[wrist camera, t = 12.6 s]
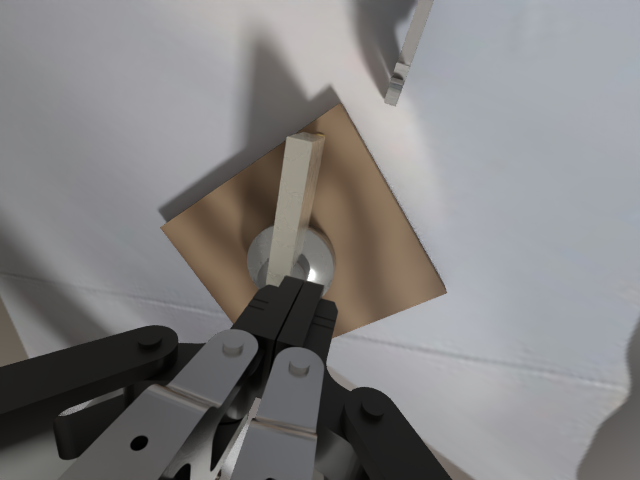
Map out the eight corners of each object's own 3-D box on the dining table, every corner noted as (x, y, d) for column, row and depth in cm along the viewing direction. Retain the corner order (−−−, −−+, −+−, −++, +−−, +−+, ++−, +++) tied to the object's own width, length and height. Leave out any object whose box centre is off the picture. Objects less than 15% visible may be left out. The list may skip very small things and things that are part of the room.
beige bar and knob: (327, 305, 36) (315, 340, 31) (250, 284, 37) (225, 314, 32) (365, 144, 29) (359, 152, 24) (269, 123, 30) (242, 126, 25)
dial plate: (268, 356, 43) (264, 366, 41) (168, 223, 38) (158, 228, 37) (444, 285, 34) (447, 294, 33) (342, 103, 30) (339, 103, 28)
